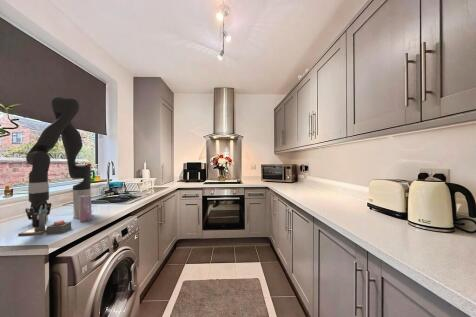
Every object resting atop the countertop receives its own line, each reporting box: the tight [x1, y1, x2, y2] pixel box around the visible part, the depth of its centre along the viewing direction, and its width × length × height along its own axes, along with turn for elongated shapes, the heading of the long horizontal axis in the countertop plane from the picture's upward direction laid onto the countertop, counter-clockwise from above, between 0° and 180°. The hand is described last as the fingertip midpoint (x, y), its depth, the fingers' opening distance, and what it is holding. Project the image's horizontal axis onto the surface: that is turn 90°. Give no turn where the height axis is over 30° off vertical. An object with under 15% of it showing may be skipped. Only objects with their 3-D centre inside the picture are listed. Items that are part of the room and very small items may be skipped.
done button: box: [53, 220, 65, 226], centre depth 111 cm, size 4×4×2 cm
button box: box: [46, 221, 72, 235], centre depth 111 cm, size 7×7×4 cm
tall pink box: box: [78, 195, 93, 223], centre depth 129 cm, size 6×6×15 cm
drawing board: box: [17, 225, 48, 237], centre depth 111 cm, size 12×10×1 cm
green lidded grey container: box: [33, 209, 46, 232], centre depth 109 cm, size 4×4×10 cm
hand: (39, 225), depth 109 cm, fingers closed on green lidded grey container, 4 cm apart
